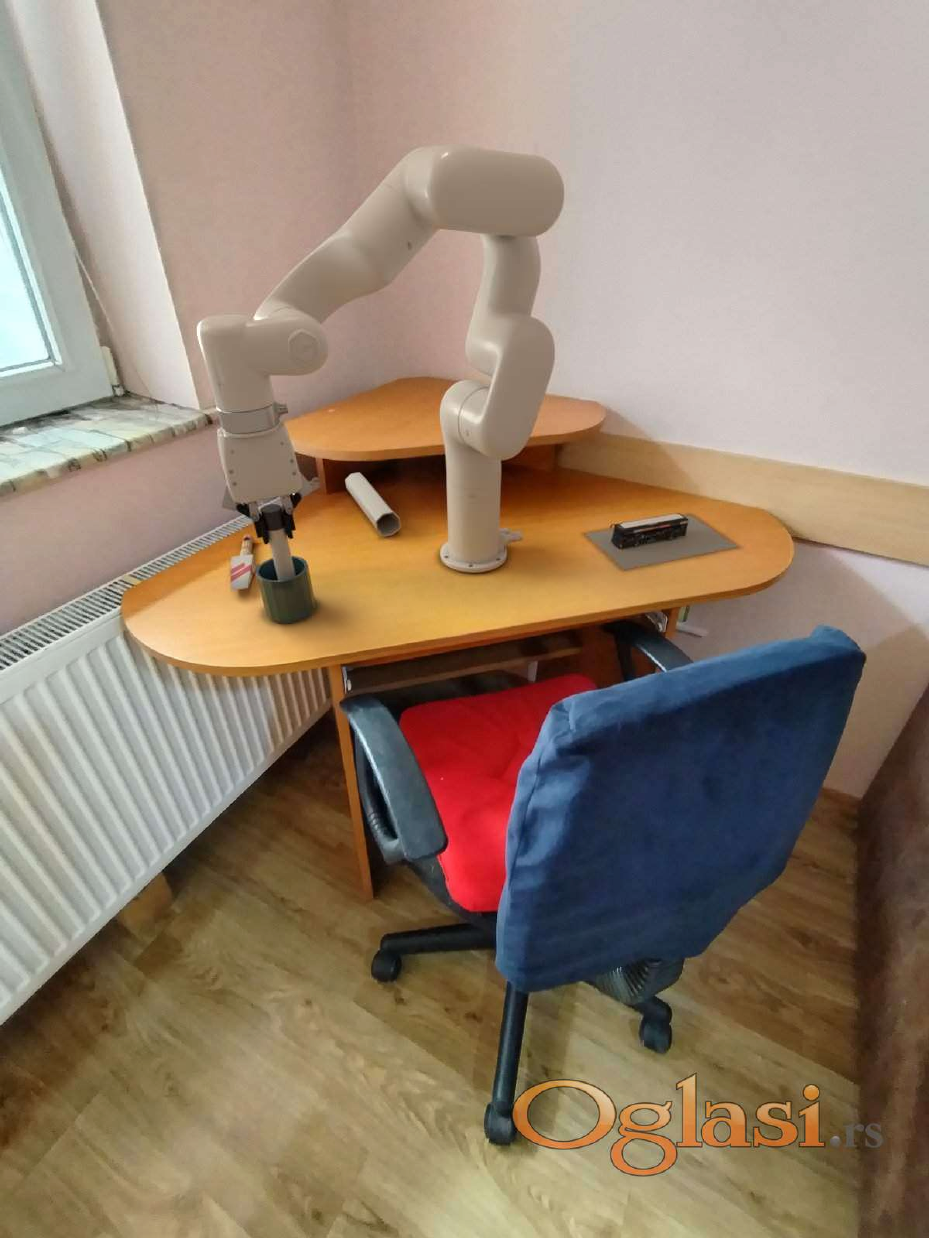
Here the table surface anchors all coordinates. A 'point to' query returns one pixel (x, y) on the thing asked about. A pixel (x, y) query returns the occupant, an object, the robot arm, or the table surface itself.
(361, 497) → the tube
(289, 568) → the marker
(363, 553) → the table surface
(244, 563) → the paintbrush
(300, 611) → the pen holder
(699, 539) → the gray base plate
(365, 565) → the table surface
